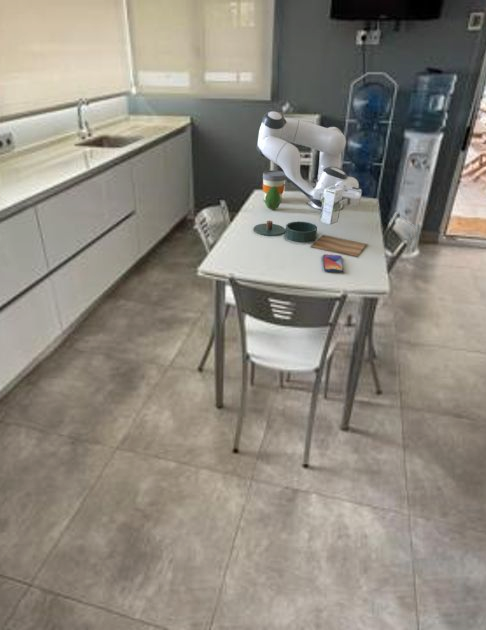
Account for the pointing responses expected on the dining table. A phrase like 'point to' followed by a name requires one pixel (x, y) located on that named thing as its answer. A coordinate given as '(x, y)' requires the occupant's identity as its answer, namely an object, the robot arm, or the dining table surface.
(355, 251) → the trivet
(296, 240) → the pot
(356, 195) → the robot arm
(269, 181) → the reusable coffee cup
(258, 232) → the pot lid
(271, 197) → the avocado
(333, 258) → the smartphone
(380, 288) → the dining table surface
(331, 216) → the syrup box
